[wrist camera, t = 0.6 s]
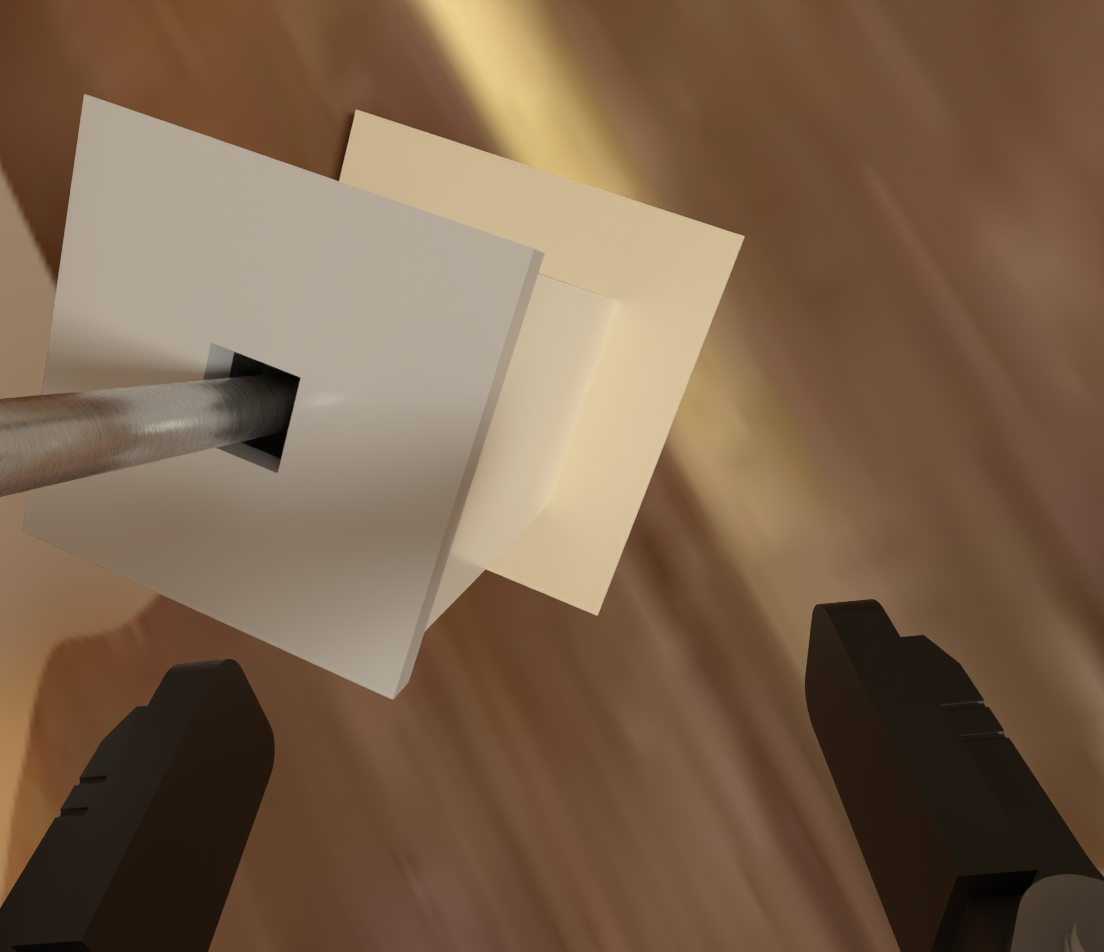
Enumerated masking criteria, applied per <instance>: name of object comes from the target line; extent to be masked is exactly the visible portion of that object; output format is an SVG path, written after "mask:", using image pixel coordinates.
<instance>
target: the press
mask: <svg viewBox="0 0 1104 952" xmlns="http://www.w3.org/2000/svg"><path fill="white" fill-rule="evenodd" d="M744 237H745V236H742V235H739V234H736V233H733V232H730V231H726V230H723V229H720V228H717V227H714V226H711V225H708V224H705V223H702V222H699V221H696V220H693V219H690V218H687V217H684V216H681V215H678V214H674V213H671V212H668V211H665V210H662V209H659V208H656V207H653V206H650V205H647V204H644V203H641V202H638V201H635V200H632V199H629V198H625V197H622V196H619V195H616V194H613V193H610V192H607V191H604V190H601V189H598V188H595V187H592V186H589V185H586V184H583V183H580V182H577V181H573V180H570V179H567V178H564V177H561V176H558V175H555V174H552V173H549V172H546V171H543V170H540V169H537V168H534V167H531V166H528V165H525V164H521V163H518V162H515V161H512V160H509V159H506V158H503V157H500V156H497V155H494V154H491V153H488V152H485V151H482V150H479V149H476V148H472V147H469V146H466V145H463V144H460V143H457V142H454V141H451V140H448V139H445V138H442V137H439V136H436V135H433V134H430V133H427V132H424V131H420V130H417V129H414V128H411V127H408V126H405V125H402V124H399V123H396V122H393V121H390V120H387V119H384V118H381V117H378V116H375V115H371V114H368V113H365V112H362V111H359V110H356V112H355V116H354V120H353V124H352V129H351V133H350V137H349V141H348V146H347V150H346V154H345V158H344V162H343V167H342V171H341V175H340V179H339V181H336V180H333V179H330V178H327V177H325V176H322V175H319V174H316V173H313V172H310V171H307V170H304V169H301V168H298V167H295V166H293V165H290V164H287V163H284V162H281V161H278V160H275V159H272V158H269V157H266V156H264V155H261V154H258V153H255V152H252V151H249V150H246V149H243V148H240V147H237V146H234V145H232V144H229V143H226V142H223V141H220V140H217V139H214V138H211V137H208V136H205V135H202V134H200V133H197V132H194V131H191V130H188V129H185V128H182V127H179V126H176V125H173V124H171V123H168V122H165V121H162V120H159V119H156V118H153V117H150V116H147V115H144V114H141V113H139V112H136V111H133V110H130V109H127V108H124V107H121V106H118V105H115V104H112V103H110V102H107V101H104V100H101V99H98V98H95V97H92V96H89V95H86V94H84V99H83V106H82V113H81V120H80V127H79V134H78V141H77V148H76V155H75V163H74V170H73V177H72V184H71V191H70V198H69V205H68V212H67V219H66V226H65V233H64V240H63V247H62V254H61V261H60V268H59V275H58V282H57V289H56V296H55V304H54V311H53V318H52V325H51V332H50V339H49V346H48V353H47V360H46V367H45V374H44V381H43V388H42V395H48V394H59V393H70V392H81V391H92V390H103V389H114V388H125V387H135V386H146V385H157V384H168V383H179V382H190V381H201V380H212V379H223V378H229V374H230V370H231V365H232V360H233V356H234V352H237V353H239V354H242V355H244V356H247V357H249V358H252V359H255V360H257V361H260V362H262V363H265V364H267V365H270V366H272V367H275V368H278V369H280V370H283V371H285V372H288V373H290V374H293V375H295V376H298V377H301V378H300V382H299V387H298V391H297V395H296V399H295V403H294V407H293V412H292V416H291V420H290V424H289V428H288V432H287V437H286V441H285V445H284V449H283V453H282V457H281V459H280V458H278V457H275V456H273V455H270V454H268V453H265V452H263V451H261V450H258V449H256V448H253V447H251V446H248V445H246V444H244V443H241V442H238V443H234V444H229V445H225V446H221V447H216V448H212V449H207V450H203V451H199V452H194V453H190V454H186V455H181V456H177V457H173V458H168V459H164V460H159V461H155V462H151V463H146V464H142V465H138V466H133V467H129V468H124V469H120V470H116V471H111V472H107V473H103V474H98V475H94V476H89V477H85V478H81V479H76V480H72V481H68V482H63V483H59V484H55V485H50V486H46V487H41V488H37V489H33V490H28V494H27V501H26V508H25V515H24V522H23V529H22V531H23V532H25V533H27V534H30V535H32V536H34V537H36V538H38V539H41V540H43V541H45V542H47V543H49V544H52V545H54V546H56V547H58V548H60V549H63V550H65V551H67V552H69V553H71V554H74V555H76V556H78V557H80V558H82V559H85V560H87V561H89V562H91V563H93V564H96V565H98V566H100V567H102V568H104V569H107V570H109V571H111V572H113V573H115V574H118V575H120V576H122V577H124V578H126V579H128V580H131V581H133V582H135V583H138V584H139V585H142V586H144V587H146V588H149V589H150V590H153V591H155V592H157V593H159V594H161V595H164V596H166V597H168V598H170V599H172V600H175V601H177V602H179V603H181V604H183V605H186V606H188V607H190V608H192V609H194V610H197V611H199V612H201V613H203V614H205V615H208V616H210V617H212V618H214V619H216V620H219V621H221V622H223V623H225V624H227V625H230V626H232V627H234V628H236V629H238V630H241V631H243V632H245V633H247V634H249V635H252V636H254V637H256V638H258V639H260V640H263V641H265V642H267V643H269V644H271V645H274V646H276V647H278V648H280V649H282V650H285V651H287V652H289V653H291V654H293V655H296V656H298V657H300V658H302V659H304V660H307V661H309V662H311V663H313V664H315V665H318V666H320V667H322V668H324V669H326V670H329V671H331V672H333V673H335V674H337V675H340V676H342V677H344V678H346V679H348V680H351V681H353V682H355V683H357V684H359V685H362V686H364V687H366V688H368V689H370V690H373V691H375V692H377V693H379V694H381V695H384V696H386V697H388V698H390V699H392V700H393V699H394V698H395V697H396V696H397V695H398V693H399V692H400V691H401V690H402V689H403V688H404V687H405V685H406V684H407V683H408V682H409V679H410V676H411V673H412V669H413V666H414V663H415V660H416V657H417V654H418V651H419V647H420V644H421V641H422V638H423V635H424V632H425V631H426V630H427V629H428V628H429V627H430V626H431V625H432V623H433V622H434V621H435V620H436V619H437V618H438V617H439V616H440V615H441V614H442V613H443V612H444V611H445V610H446V609H447V608H448V607H449V606H450V605H451V604H452V603H453V602H454V601H455V600H456V599H457V598H458V597H459V596H460V595H461V594H462V593H463V592H464V591H465V590H466V589H467V588H468V587H469V586H470V585H471V584H472V583H473V581H474V580H475V579H476V578H477V577H478V576H479V575H480V574H481V573H482V572H483V571H484V570H485V569H487V570H489V571H491V572H494V573H496V574H499V575H501V576H503V577H506V578H508V579H511V580H513V581H515V582H518V583H520V584H523V585H525V586H527V587H530V588H532V589H535V590H537V591H539V592H542V593H544V594H547V595H549V596H551V597H554V598H556V599H559V600H561V601H563V602H566V603H568V604H570V605H573V606H575V607H578V608H580V609H582V610H585V611H587V612H590V613H592V614H594V615H597V616H598V613H599V611H600V609H601V606H602V603H603V601H604V598H605V596H606V593H607V591H608V588H609V585H610V583H611V580H612V578H613V575H614V573H615V570H616V567H617V565H618V562H619V560H620V557H621V555H622V552H623V549H624V547H625V544H626V542H627V539H628V537H629V534H630V531H631V529H632V526H633V524H634V521H635V518H636V516H637V513H638V511H639V508H640V506H641V503H642V500H643V498H644V495H645V493H646V490H647V488H648V485H649V482H650V480H651V477H652V475H653V472H654V470H655V467H656V464H657V462H658V459H659V457H660V454H661V452H662V449H663V446H664V444H665V441H666V439H667V436H668V434H669V431H670V428H671V426H672V423H673V421H674V418H675V415H676V413H677V410H678V408H679V405H680V403H681V400H682V397H683V395H684V392H685V390H686V387H687V385H688V382H689V379H690V377H691V374H692V372H693V369H694V367H695V364H696V361H697V359H698V356H699V354H700V351H701V349H702V346H703V343H704V341H705V338H706V336H707V333H708V330H709V328H710V325H711V323H712V320H713V318H714V315H715V312H716V310H717V307H718V305H719V302H720V300H721V297H722V294H723V292H724V289H725V287H726V284H727V282H728V279H729V276H730V274H731V271H732V269H733V266H734V264H735V261H736V258H737V256H738V253H739V251H740V248H741V246H742V243H743V240H744Z"/></svg>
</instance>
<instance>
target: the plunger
mask: <svg viewBox="0 0 1104 952" xmlns="http://www.w3.org/2000/svg"><path fill="white" fill-rule="evenodd" d="M300 378H301V377H298V376H295V375H293V374H290V373H288V372H285V371H283V370H280V369H278V368H275V367H272V366H270V365H267V364H265V363H262V362H260V361H257V360H255V359H252V358H249V357H247V356H244V355H242V354H239V353H237V352H234V356H233V360H232V365H231V370H230V374H229V378H223V379H212V380H201V381H190V382H179V383H168V384H157V385H146V386H135V387H125V388H114V389H103V390H92V391H81V392H70V393H59V394H48V395H38V396H28V397H16V398H5V399H0V497H2V496H6V495H10V494H15V493H20V492H24V491H28V490H33V489H37V488H41V487H46V486H50V485H55V484H59V483H63V482H68V481H72V480H76V479H81V478H85V477H89V476H94V475H98V474H103V473H107V472H111V471H116V470H120V469H124V468H129V467H133V466H138V465H142V464H146V463H151V462H155V461H159V460H164V459H168V458H173V457H177V456H181V455H186V454H190V453H194V452H199V451H203V450H207V449H212V448H216V447H221V446H225V445H229V444H234V443H238V442H241V443H244V444H246V445H248V446H251V447H253V448H256V449H258V450H261V451H263V452H265V453H268V454H270V455H273V456H275V457H278V458H280V459H281V457H282V453H283V449H284V445H285V441H286V437H287V432H288V428H289V424H290V420H291V416H292V412H293V407H294V403H295V399H296V395H297V391H298V387H299V382H300Z"/></svg>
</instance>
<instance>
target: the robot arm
mask: <svg viewBox="0 0 1104 952" xmlns="http://www.w3.org/2000/svg"><path fill="white" fill-rule="evenodd" d="M805 694H806V702H807V707H808V712H809V716H810V720H811V723H812V726H813V729H814V731H815V734H816V737H817V739H818V742H819V744H820V747H821V749H822V752H823V754H824V757H825V760H826V762H827V765H828V767H829V770H830V772H831V775H832V777H833V780H834V782H835V785H836V788H837V790H838V793H839V795H840V798H841V800H842V803H843V805H844V808H845V810H846V813H847V816H848V818H849V821H850V823H851V826H852V828H853V831H854V833H855V836H856V838H857V841H858V844H859V846H860V849H861V851H862V854H863V856H864V859H865V861H866V864H867V867H868V869H869V872H870V874H871V877H872V879H873V882H874V884H875V887H876V889H877V892H878V895H879V897H880V900H881V902H882V905H883V907H884V910H885V912H886V915H887V917H888V920H889V923H890V925H891V928H892V930H893V933H894V935H895V938H896V940H897V943H898V946H899V948H900V951H901V952H1104V876H1103V875H1102V874H1101V873H1100V872H1099V871H1098V870H1097V869H1096V867H1095V866H1094V865H1093V863H1092V862H1091V861H1090V859H1089V858H1088V856H1087V855H1086V853H1085V852H1084V850H1083V849H1082V847H1081V846H1080V844H1079V843H1078V841H1077V840H1076V838H1075V837H1074V835H1073V834H1072V832H1071V831H1070V829H1069V828H1068V826H1067V825H1066V823H1065V822H1064V820H1063V819H1062V817H1061V816H1060V814H1059V813H1058V811H1057V810H1056V808H1055V807H1054V805H1053V804H1052V802H1051V801H1050V799H1049V798H1048V796H1047V795H1046V793H1045V791H1044V790H1043V788H1042V787H1041V785H1040V784H1039V782H1038V781H1037V779H1036V778H1035V776H1034V775H1033V773H1032V772H1031V770H1030V769H1029V767H1028V766H1027V764H1026V763H1025V761H1024V760H1023V758H1022V757H1021V755H1020V754H1019V752H1018V751H1017V749H1016V748H1015V746H1014V745H1013V743H1012V742H1011V740H1010V739H1009V738H1006V737H1005V735H1004V730H1003V728H1002V726H1001V725H1000V723H999V722H998V720H997V719H996V717H995V716H994V714H993V713H992V711H991V710H990V708H989V707H985V705H984V699H983V698H982V696H981V695H980V693H979V692H978V690H977V689H976V687H975V686H974V684H973V683H972V681H971V680H970V678H969V677H968V675H967V674H966V672H965V671H964V669H963V668H962V666H961V665H960V663H958V662H957V661H956V660H955V659H953V658H952V657H951V656H949V655H948V654H947V653H946V652H944V651H943V650H942V649H941V648H939V647H938V646H937V645H936V644H934V643H933V642H932V641H931V640H929V639H928V638H927V637H926V636H924V635H919V636H908V637H900V636H899V634H898V632H897V631H896V629H895V627H894V625H893V624H892V622H891V620H890V619H889V617H888V615H887V614H886V612H885V610H884V609H883V607H882V606H881V605H880V603H879V602H877V601H876V600H874V599H869V600H858V601H848V602H838V603H827V604H817V605H816V606H815V607H814V610H813V614H812V622H811V631H810V640H809V649H808V658H807V666H806V675H805ZM274 753H275V745H274V737H273V732H272V729H271V726H270V724H269V722H268V720H267V718H266V716H265V714H264V712H263V710H262V708H261V706H260V704H259V702H258V700H257V698H256V696H255V694H254V692H253V690H252V688H251V686H250V684H249V682H248V680H247V678H246V676H245V674H244V672H243V670H242V668H241V667H240V665H239V664H238V663H237V662H236V661H235V660H232V659H226V660H216V661H205V662H195V663H185V664H177V665H175V666H173V667H172V668H170V670H169V671H168V672H167V673H166V675H165V676H164V678H163V679H162V681H161V683H160V685H159V686H158V688H157V690H156V692H155V693H154V695H153V697H152V699H151V701H150V702H149V704H148V706H139V707H136V708H135V709H134V710H133V711H132V712H131V713H130V714H129V715H128V716H127V717H126V718H125V719H123V720H122V721H121V722H120V723H119V724H118V725H117V726H116V727H115V728H114V729H113V730H112V731H111V732H110V733H109V734H108V735H107V736H106V737H105V738H104V739H103V740H102V742H101V743H100V745H99V747H98V748H97V750H96V752H95V753H94V755H93V756H92V758H91V760H90V761H89V763H88V765H87V766H86V768H85V770H84V771H83V773H82V775H81V776H80V784H79V785H75V786H74V788H73V789H72V791H71V793H70V794H69V796H68V798H67V799H66V801H65V803H64V804H63V806H62V808H61V809H60V810H61V815H60V817H58V818H55V819H54V821H53V822H52V824H51V826H50V827H49V829H48V831H47V832H46V834H45V836H44V837H43V839H42V841H41V842H40V844H39V845H38V847H37V849H36V850H35V852H34V854H33V855H32V857H31V859H30V860H29V862H28V864H27V865H26V867H25V869H24V870H23V872H22V873H21V875H20V877H19V878H18V880H17V882H16V883H15V885H14V887H13V888H12V890H11V892H10V893H9V895H8V897H7V898H6V900H5V901H4V903H3V905H2V906H1V908H0V952H208V950H209V947H210V944H211V941H212V939H213V936H214V933H215V930H216V927H217V924H218V922H219V919H220V916H221V913H222V910H223V908H224V905H225V902H226V899H227V896H228V893H229V891H230V888H231V885H232V882H233V879H234V877H235V874H236V871H237V868H238V865H239V862H240V860H241V857H242V854H243V851H244V848H245V846H246V843H247V840H248V837H249V834H250V831H251V829H252V826H253V823H254V820H255V817H256V815H257V812H258V809H259V806H260V803H261V800H262V798H263V795H264V792H265V789H266V786H267V784H268V781H269V778H270V775H271V772H272V768H273V763H274Z"/></svg>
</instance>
